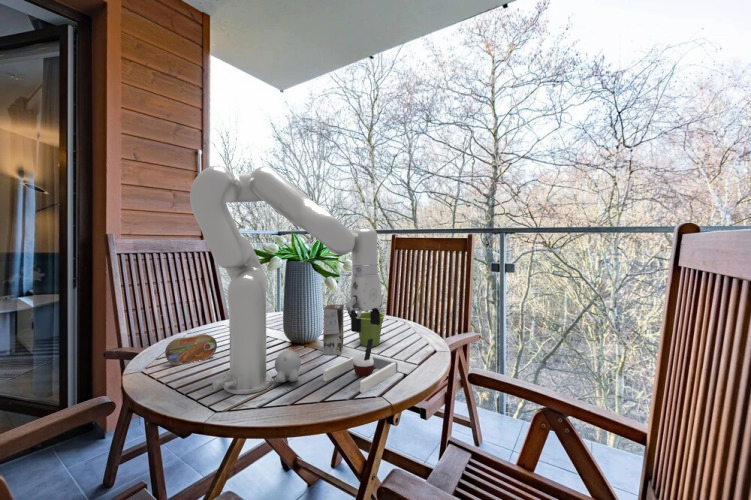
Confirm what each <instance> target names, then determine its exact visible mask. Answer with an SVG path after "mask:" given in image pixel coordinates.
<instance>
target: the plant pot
mask: <svg viewBox="0 0 751 500" xmlns="http://www.w3.org/2000/svg"><path fill="white" fill-rule="evenodd" d="M385 317H386V315H385V314H384V313H382V312H380V325H375V324H371V323H370V311H362V313H361V315H360V317H359V318H361V332H360V333H358V337H359V343H360V345H361V346H363V347H367V343H368V339H373V344H372V347H376V346H379V344H380V341H381V335H382V334H381V333H382V327H383V323H384V318H385Z"/></svg>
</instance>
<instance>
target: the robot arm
mask: <svg viewBox="0 0 751 500" xmlns="http://www.w3.org/2000/svg"><path fill="white" fill-rule="evenodd" d="M190 187H191V188H190V191H189V201H190V206H191V207H190V208H191V210H192V213H193V215H194V218H195V220H196V222H197V225H198V227H199V229H200V231H201V233H202V236H203V238H204V240H205V242H206V244H207V246H208V248H209V250H210V253H211V254H212V257H213V259H214V261H215V263H216V264H217V265H218V266H219V267H220V268H223V269H224V270H226V272H227V274H228V276H229V278H230V282H229V285H228V287H227V302H228V319H229V321H228V322H229V323H228V326H229V370H228V371H226V372H225V375H224V376H223V378H219V379H216V380H213V382H212V385H211V386H212V387H213V389H218V388H219V389H220V387H223V389H224V391H225V392H227V393H229V394H233V395H248V394H254V393H257V392H261V391H263V390H266V389H268V387H270V386H271V385H272V384H273V377H272V376H271V375H270V374H269V373H267V291H268V286H269V280H268V277H267V275H266V273H265V270H264V268H263V266H262V264H261V261H260V260H259V258H258V256H257V254H256V251H255V249H254V248H253V245H252V243H251V241H249V240H248V239H247V237H244V236H242V235H241V232H240V231H239V229H238V227H237V224H236V223H235V219H234V217H233V216H232V214H231V212H230V209H229V208H228V205H227V203H229V204H231V203H234V204H235V203H253V202H255V203H256V202H265V203H266V204H267V205H269V206H270V207H271V208H273V209H274V210H275V211H276V212H277V213H279V214H280V215H281V216H282V217H284V218H285V219H287V220H288V222H290V223H292V224H293V225H295V226H296V227H298V228H301V229H302V230H304V231H305V232H307V233H308V234H310V235H311V236H312V237H313V238H315V239H316V240H317V241H318V242H320V243H321V244H322V245H324V246H325V247H326V248H327V251H329V252H330V253H331V254H335V255H338V256H346V255H348V254H350V253H351V262H352V263H351V265H352V266H351V267H352V274H351V275H352V276H351V282H350V300H349V301H348V302H347V303H346V304H345V308H346V312H347V315H349V318H350V331H351V332H353V333H358V334H359V333H360V332H361V318H359V317H360V315H361V313H363V312H370V323H371V324H375V325H380V313H381V310H382V305H383V300H384V299H383V298H384V296H383V295H382V288H381V287H382V286H381V280H380V275H379V273H378V272H379V270H378V267H379V266H378V232H377V230H376V229H373V228H357V229H353V230H352V229H349V228H348V227H346V226H345V224H343V223H342V222H341V221H339V220H338V219H337V218H335V216H333V215H332V214H331V213H330V212H328V211H326V210H325V209H324V208H322V207H321V206H320V205H319V204H317V203H316V202H315V201H313V200H312V198H309V196H307V195H306V194H305V193H303V192H302V191H301V190H300V189H298V188H297V187H296V186H295V185H294V184H293V183H291V182H290V181H289V180H288V179H286V178H285V177H284V176H283V175H281V174H280V173H279V172H278V171H276V170H275V169H274V168H272V167H269V166H259V167H257V168H255V169H254V170H253V172H249V173H233V172H232V171H231V170H230V169H228V168H226V167H225V166H224V167H223V166H220V165H212V166H211V165H210V166H209V167H206V168H205V169H203V170H202V171H200V172H199V174H198V175H197V176H196V177H195V179H194V180H193V182H192V184H191V186H190Z"/></svg>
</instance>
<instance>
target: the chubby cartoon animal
mask: <svg viewBox="0 0 751 500" xmlns="http://www.w3.org/2000/svg"><path fill="white" fill-rule="evenodd" d="M301 361H302V360H301V358H300V356H299V354H298V353H297V352H296V351H294V350H284V351H282V352H280V353H279V354H278V355H277V356H276V358H275V360H274V370H275V371H276V375H275V382H276V383H285V382H286V381H288V382H290V383H291V382H292V383H293V382H297V381H298V380H299V371H300V369H301V364H302V362H301Z"/></svg>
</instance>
